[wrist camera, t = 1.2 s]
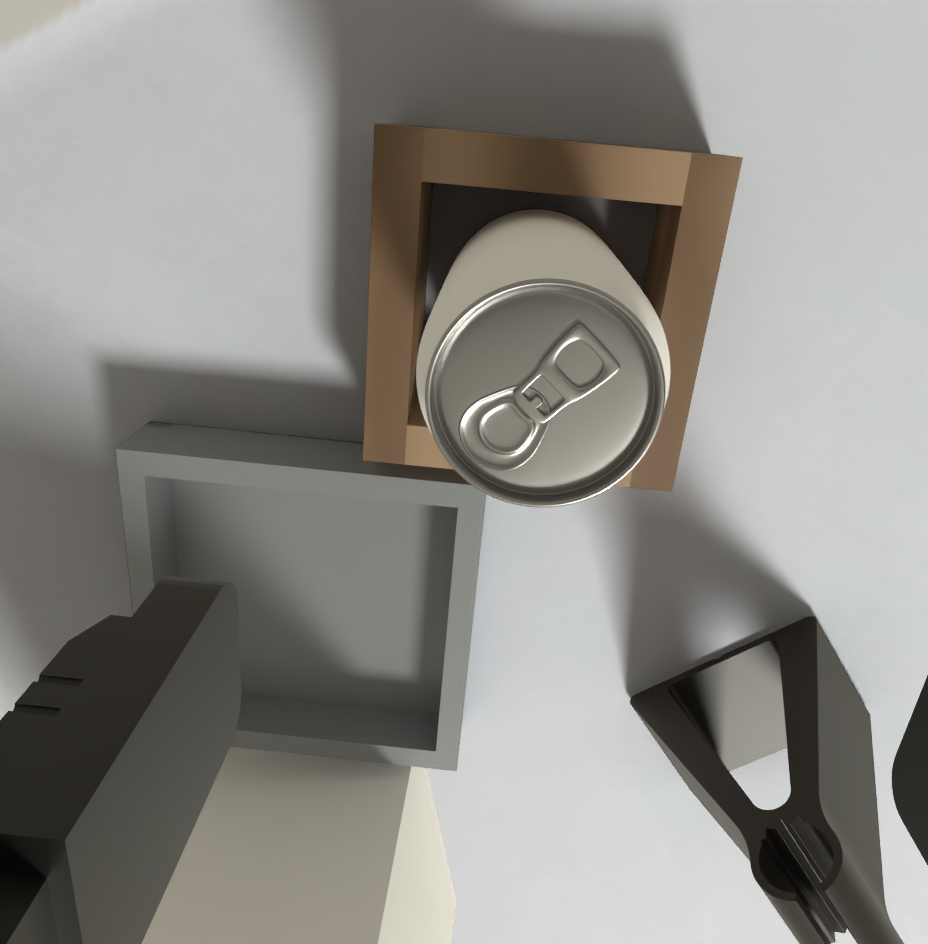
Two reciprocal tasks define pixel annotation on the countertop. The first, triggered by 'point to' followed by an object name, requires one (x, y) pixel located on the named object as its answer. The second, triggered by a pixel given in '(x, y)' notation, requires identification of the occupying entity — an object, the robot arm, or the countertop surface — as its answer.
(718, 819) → the phone stand
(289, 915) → the milk
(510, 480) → the can
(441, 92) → the countertop surface
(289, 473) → the tray
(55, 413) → the countertop surface
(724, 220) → the socket block
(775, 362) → the countertop surface
